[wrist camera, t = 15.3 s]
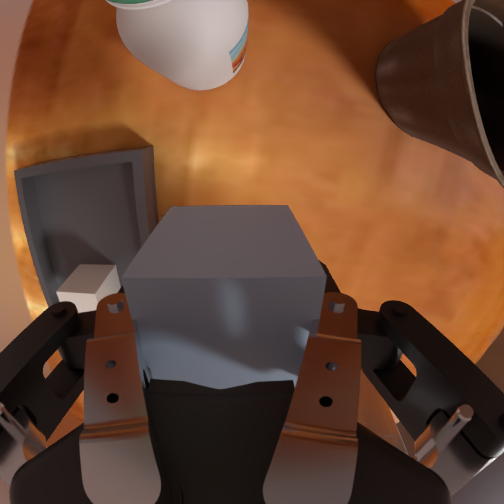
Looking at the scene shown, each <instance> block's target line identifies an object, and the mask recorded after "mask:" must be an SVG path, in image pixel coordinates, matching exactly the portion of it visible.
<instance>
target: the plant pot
mask: <svg viewBox="0 0 504 504" xmlns="http://www.w3.org/2000/svg"><path fill="white" fill-rule="evenodd" d="M376 84H377V90H378V94H379V98H380V101H381V103H382V105H383V107H384V108H385V110H386V111H387V112H388V113H389V115H390V116H391V118H392V120H393V122H394V123H395V124H396V125H397V126H398V127H399V128H400V129H401V130H402V131H404V132H405V133H407V134H409V135H410V136H412V137H415V138H418V139H420V140H423V141H426V142H428V143H431V144H434V145H436V146H438V147H441V148H443V149H445V150H448V151H450V152H452V153H454V154H456V155H458V156H461V157H463V158H465V159H467V160H469V161H471V162H472V163H473V164H474V165H475V166H476V167H477V168H479V169H480V170H481V171H483V172H484V173H486V174H488V175H489V176H491V177H493V178H495V179H496V180H498V182H499V183H500V184H501V186H502V187H503V188H504V0H462V1H460V2H458V3H456V4H454V5H452V6H451V7H449V8H448V9H447V10H446V11H445V12H444V14H442V15H440V16H438V17H436V18H434V19H433V20H431V21H429V22H427V23H425V24H423V25H421V26H419V27H417V28H415V29H414V30H412V31H410V32H408V33H406V34H405V35H403V36H401V37H399V38H397V39H395V40H393V41H392V42H391V43H389V44H388V45H387V46H386V47H385V48H384V49H383V51H382V52H381V54H380V56H379V59H378V63H377V68H376Z"/></svg>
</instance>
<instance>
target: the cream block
mask: <svg viewBox="0 0 504 504" xmlns="http://www.w3.org/2000/svg"><path fill="white" fill-rule="evenodd" d="M120 288H121V286H120V282H119V277H118V273H117V268H116V265H98V264H80V265H79V266H78V267H77V268H76V269H75V270H74V271H73V273H72V274H71V275H70V276H69V277H68V278H67V279H66V281H65V282H64V283H63V284H62V285H61V286H60V288H59V289H58V290H57V291H56V292H57V295H58V298H59V301H60V302H62V301H69V302H73V303H74V304H75V305H76V307H77V310H78V313H81V312H88V311H94V310H96V308H97V304H98V302H99V301H100V300H101V299H103V298H104V297H106V296H108V295H111V294H115V293H118V291H119V290H120Z"/></svg>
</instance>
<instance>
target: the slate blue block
mask: <svg viewBox="0 0 504 504" xmlns="http://www.w3.org/2000/svg"><path fill="white" fill-rule="evenodd" d="M326 278H327V276H326V274H325V272H324V270H323V268H322V266H321V264H320V262H319V260H318V259H317V257H316V255H315V253H314V251H313V249H312V248H311V246H310V244H309V242H308V240H307V238H306V237H305V235H304V233H303V231H302V229H301V228H300V226H299V224H298V222H297V220H296V219H295V217H294V215H293V213H292V212H291V210H290V208H289V206H288V205H218V206H178V207H170V209H169V210H168V211H167V213H166V214H165V215H164V217H163V218H162V219H161V221H160V222H159V223H158V225H157V226H156V228H155V229H154V230H153V232H152V233H151V235H150V236H149V237H148V239H147V240H146V242H145V243H144V244H143V246H142V247H141V249H140V250H139V252H138V253H137V255H136V256H135V258H134V259H133V260H132V262H131V263H130V265H129V266H128V268H127V269H126V271H125V272H124V274H123V276H122V277H121V279H122V283H123V287H124V292H125V296H126V300H127V304H128V307H129V311H130V315H131V319H133V320H136V322H137V325H138V329H139V333H140V341H141V347H142V352H143V356H144V360H145V363H146V366H147V368H150V369H151V372H152V375H153V378H154V379H162V380H177V381H186V382H190V383H194V384H198V385H202V386H207V387H211V388H215V389H225V388H230V387H235V386H240V385H245V384H249V383H254V382H260V381H282V380H293V382H294V387H295V386H296V382H297V379H298V375H299V371H300V367H301V364H302V360H303V356H304V352H305V348H306V344H307V340H308V335H309V332H310V331H311V327H312V322H313V320H315V319H320V314H321V308H322V303H323V297H324V291H325V284H326Z"/></svg>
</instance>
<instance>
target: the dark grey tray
mask: <svg viewBox="0 0 504 504" xmlns="http://www.w3.org/2000/svg"><path fill="white" fill-rule="evenodd" d="M14 173H15V180H16V187H17V194H18V199H19V205H20V210H21V215H22V220H23V224H24V229H25V233H26V237H27V241H28V245H29V249H30V252H31V256H32V259H33V263H34V266H35V269H36V273H37V276H38V279H39V282H40V285H41V288H42V290H43V293H44V296H45V299H46V301H47V304H48V307H50V306H51V305H53V304H55V303H58V302H60V301H59V298H58V295H57V292H56V291H57V290H58V289H59V288H60V286H61V285H62V284H63V283H64V282H65V281H66V279H67V278H68V277H69V276H70V275H71V274H72V273H73V271H74V270H75V269H76V268H77V267H78V266H79V265H80V264H98V265H116V268H117V273H118V277H119V282H120V286H122V285H123V283H122V279H121V277H122V276H123V274H124V272H125V271H126V269H127V268H128V266H129V265H130V263H131V262H132V260H133V259H134V258H135V256H136V255H137V253H138V252H139V250H140V249H141V247H142V246H143V244H144V243H145V242H146V240H147V239H148V237H149V236H150V235H151V233H152V232H153V230H154V229H155V228H156V226H157V225H158V223H159V221H158V211H157V200H156V187H155V173H154V155H153V146H148V147H137V148H128V149H119V150H111V151H104V152H97V153H90V154H83V155H77V156H71V157H66V158H60V159H55V160H50V161H45V162H41V163H36V164H32V165H29V166H26V167H23V168H20V169H18V170H15V171H14Z"/></svg>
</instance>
